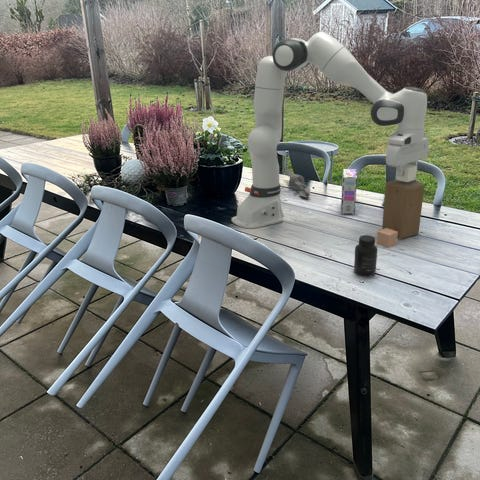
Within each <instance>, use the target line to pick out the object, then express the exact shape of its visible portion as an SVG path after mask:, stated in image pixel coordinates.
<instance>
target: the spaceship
mask: <svg viewBox="0 0 480 480" xmlns="http://www.w3.org/2000/svg"><path fill="white" fill-rule="evenodd" d="M285 174H286V175H287V176H288V177H289V178H290V179H289V182H288V185H289V187H290V189H292V190H294V191H296V193H297V195H299V196H301V197H305V198H306V199H308V198H309V197H310V196H311V188H309V187H305V177H304V176H302V175H300V174H296V173H294V174H293V173H292V170H291V169H290V168H287V169H285ZM304 187H305V188H304Z"/></svg>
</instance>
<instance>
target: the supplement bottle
mask: <svg viewBox="0 0 480 480" xmlns="http://www.w3.org/2000/svg"><path fill="white" fill-rule="evenodd" d="M375 241H376V238H375V236H373V235H368V234H364V235H360V236H359V237H358V243H357V244H356V246H355V249H354V262H353V263H354V264H353V266H354V267H353V272H355V274H356V275H359V276H361V277H371V276H373V275H375V274H376V271H377V261H378V247H377V245H376V242H375Z"/></svg>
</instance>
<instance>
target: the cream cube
mask: <svg viewBox="0 0 480 480" xmlns="http://www.w3.org/2000/svg"><path fill="white" fill-rule="evenodd" d="M402 169H403V171H404V176H401V177H399V176H397V172H398V171H397V169H396V171H395V178H396V180H400V181H404V182H410V181H416V180H417V172H418V165H417V166H415V165H411V163H407V164H404V165H403V167H402Z"/></svg>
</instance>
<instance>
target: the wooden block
mask: <svg viewBox="0 0 480 480" xmlns="http://www.w3.org/2000/svg"><path fill="white" fill-rule="evenodd" d="M424 194H425V184H424V183H422V182H419V181H416V180H413V181H410V182H404V181H400V180H395V179H394V180H389V181H387V182H386V183H385V191H384V202H383V213H382V223H381V230H382V229H385V228H388V229H391V230H394V231H397V232H398V236H397V240H403V239H405V238H409V237H413V236H416V235H418V234H419V233H420V225H421V218H422V217H421V215H422V209H423V202H424V201H423V200H424Z"/></svg>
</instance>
